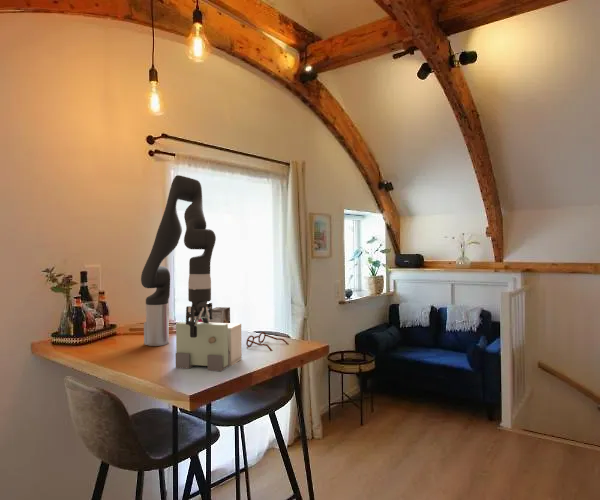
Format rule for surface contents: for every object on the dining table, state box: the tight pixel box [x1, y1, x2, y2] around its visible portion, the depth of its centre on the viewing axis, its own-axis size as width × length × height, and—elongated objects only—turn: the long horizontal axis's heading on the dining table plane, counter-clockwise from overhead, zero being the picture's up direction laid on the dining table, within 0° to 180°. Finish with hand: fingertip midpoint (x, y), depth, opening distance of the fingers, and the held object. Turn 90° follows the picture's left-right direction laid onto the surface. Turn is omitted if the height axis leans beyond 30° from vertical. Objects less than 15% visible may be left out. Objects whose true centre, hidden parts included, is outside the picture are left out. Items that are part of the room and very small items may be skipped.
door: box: [175, 321, 228, 367], centre depth 147 cm, size 18×5×14 cm, turn 75°
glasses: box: [245, 331, 290, 352], centre depth 179 cm, size 13×13×5 cm
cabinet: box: [175, 322, 243, 372], centre depth 152 cm, size 18×16×13 cm
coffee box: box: [209, 306, 231, 323], centre depth 176 cm, size 9×6×16 cm
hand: (199, 335), depth 146 cm, fingers open, 8 cm apart
